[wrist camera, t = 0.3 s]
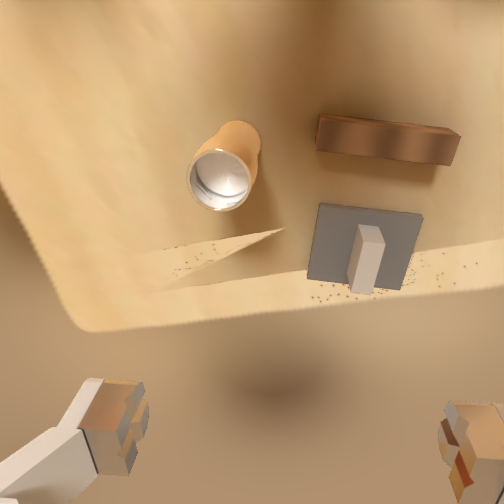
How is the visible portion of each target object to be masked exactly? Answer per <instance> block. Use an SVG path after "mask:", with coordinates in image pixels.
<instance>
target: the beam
mask: <svg viewBox="0 0 504 504" xmlns="http://www.w3.org/2000/svg"><path fill="white" fill-rule="evenodd" d="M460 138H461V136H459V135H458V134H456V133H455V132H453V131H452V130H450V129H449V128H441V127H432V126H423V125H414V124H405V123H397V122H388V121H379V120H370V119H361V118H352V117H343V116H335V115H326V114H319V120H318V126H317V132H316V138H315V145H316V150H317V151H326V152H334V153H343V154H351V155H360V156H368V157H377V158H385V159H394V160H402V161H411V162H420V163H428V164H437V165H445V166H451V164H452V161H453V158H454V155H455V152H456V149H457V146H458V143H459V140H460Z"/></svg>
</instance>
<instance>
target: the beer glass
mask: <svg viewBox="0 0 504 504" xmlns="http://www.w3.org/2000/svg"><path fill="white" fill-rule="evenodd" d="M260 148H261V141H260V137H259V134H258V133H257V131H256V130H255V128H254V127H253V126H251V125H250V124H249V123H247V122H244V121H239V120H234V121H230V122H227V123H225V124H224V125H223V126H222V127H221V128H220V129H219V130H218V132H217V134H216V135H215V136H213V137H211V138H210V139H208V140H207V141H206V142H205V143H204V144H203V145H202V146H201V147H200V148H199V150H198V151H197V153H196V154H195V156H194V158H193V160H192V162H191V164H190V165H189V168H188V171H187V185H188V188H189V191H190V193H191V195H192V196H193V198H194V199H195V200H196V201H197V202H198V203H199V204H200V205H202V206H203V207H205V208H207V209H209V210H213V211H218V212H225V211H230V210H233V209H235V208H237V207H239V206H240V205H241V204H243V203H244V201H245V200H246V199H247V197H248V195H249V193H250V191H251V189H252V187H253V185H254V182H255V179H256V176H257V170H258V162H257V156H258V154H259V152H260Z"/></svg>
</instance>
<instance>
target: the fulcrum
mask: <svg viewBox="0 0 504 504" xmlns="http://www.w3.org/2000/svg"><path fill="white" fill-rule="evenodd" d="M422 221H423V217H422V215H421V214H412V213H404V212H395V211H386V210H377V209H368V208H359V207H351V206H342V205H333V204H324V203H320V205H319V210H318V216H317V222H316V227H315V233H314V238H313V244H312V250H311V255H310V261H309V266H308V272H307V279H310V280H319V281H327V282H335V283H343V284H349V286H350V291H351V293H358V294H366V295H371V294H372V291H373V287H376V288H384V289H393V290H400V289H401V286H402V283H403V280H404V277H405V274H406V270H407V267H408V264H409V261H410V258H411V255H412V252H413V249H414V246H415V243H416V240H417V237H418V234H419V230H420V227H421V224H422Z"/></svg>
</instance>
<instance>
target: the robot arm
mask: <svg viewBox="0 0 504 504" xmlns="http://www.w3.org/2000/svg"><path fill="white" fill-rule="evenodd" d="M144 393H145V389H144V385H143V383H142V382H135V381H124V380H113V379H99V378H88V379H87V380H86V381H85V382H84V383H83V385H82V386H81V388H80V390H79V391H78V393H77V395H76V396H75V398H74V400H73V401H72V403H71V405H70V406H69V408H68V410H67V411H66V413H65V414H64V416H63V418H62V419H61V421H60V423H59V424H58V426H57V427H51V428H50V429H48V430H47V431H45V432H44V433H43V434H41V435H40V436H38V437H37V438H35V439H34V440H32V441H31V442H30V443H28V444H27V445H25V446H24V447H22V448H21V449H20V450H18V451H17V452H15V453H14V454H12V455H11V456H9V457H8V458H7V459H5V460H4V461H2V462H1V463H0V504H71V503H72V502H73V501H74V500H75V499H76V497H78V496H79V495H80V494H81V493H82V492H83V491H84V490H85V489H86V488H87V486H89V485H90V484H91V482H93V481H94V480H95V478H96V477H97V476H98V475H97V474H102V475H103V474H104V475H120V476H129V474H130V471H131V469H132V467H133V464H134V461H135V459H136V456H137V453H138V451H137V447H136V443H137V442H139V441H140V440H141V439H142V438H143V437H144V435H145V432H146V429H147V424H148V419H149V407H148V403H147V401H146V400H145V399H143V395H144ZM444 411H445V414H446V417H447V418H446V419H444V420H443V421H441V422H440V426H439V430H438V443H439V448H440V452H441V455H442V458H443V461H445V462H446V463H447V464H448V465H449V466H450V467H451V468H452V470H451V473H450V475H449V479H450V482H451V485H452V488H453V491H454V494H455V496H456V499H457V502H458V504H504V404H500V403H486V402H467V401H449V402H448V403H447V404H446V407H445V409H444Z"/></svg>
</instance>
